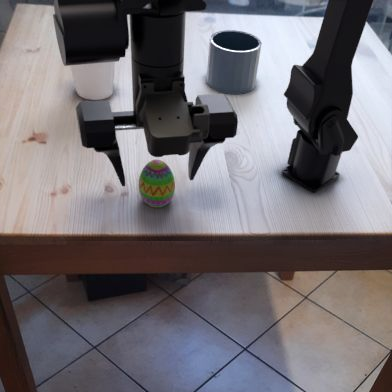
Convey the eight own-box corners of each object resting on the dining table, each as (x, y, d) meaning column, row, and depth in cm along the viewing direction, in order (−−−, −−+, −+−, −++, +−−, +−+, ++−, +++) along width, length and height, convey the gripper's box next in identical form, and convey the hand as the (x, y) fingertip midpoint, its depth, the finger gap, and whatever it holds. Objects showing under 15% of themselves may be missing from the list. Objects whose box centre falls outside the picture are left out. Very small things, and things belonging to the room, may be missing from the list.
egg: (132, 197, 68) (130, 158, 63) (160, 185, 70) (160, 146, 65) (153, 216, 65) (152, 176, 61) (181, 203, 68) (183, 164, 63)
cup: (264, 85, 90) (272, 43, 85) (231, 99, 86) (237, 56, 81) (230, 67, 94) (234, 26, 88) (196, 79, 90) (199, 37, 84)
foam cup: (70, 106, 81) (57, 17, 71) (64, 80, 86) (51, -7, 76) (126, 102, 83) (122, 15, 73) (117, 77, 88) (112, -8, 78)
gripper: (77, 97, 46) (94, 227, 59) (262, 87, 50) (241, 212, 62) (67, 46, 53) (84, 174, 65) (231, 41, 56) (217, 163, 69)
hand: (157, 181), depth 65 cm, fingers open, 9 cm apart
